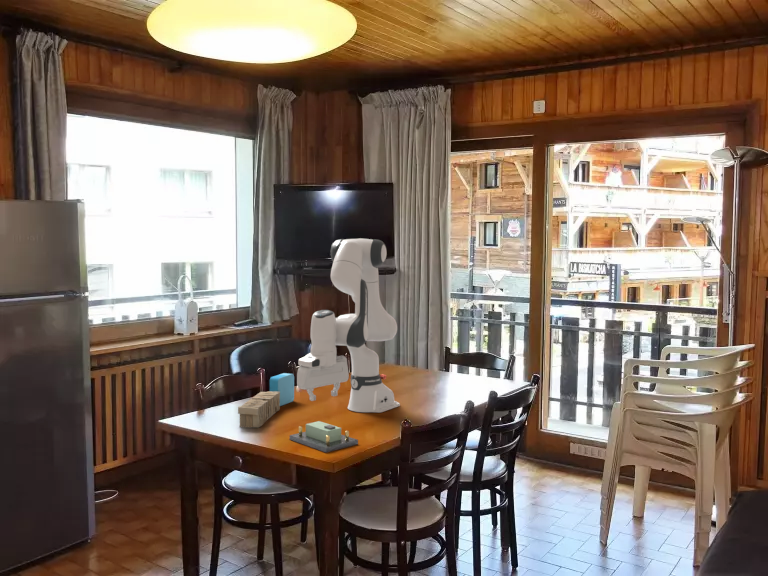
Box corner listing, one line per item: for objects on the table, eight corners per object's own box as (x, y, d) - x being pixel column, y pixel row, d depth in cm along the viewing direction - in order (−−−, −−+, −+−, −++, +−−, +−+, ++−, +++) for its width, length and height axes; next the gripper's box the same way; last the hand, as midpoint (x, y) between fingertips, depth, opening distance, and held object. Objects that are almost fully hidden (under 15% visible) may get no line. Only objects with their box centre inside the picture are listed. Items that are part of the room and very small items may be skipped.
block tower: (261, 411, 291) (237, 428, 262) (261, 390, 291) (237, 405, 262) (280, 412, 290) (257, 429, 261) (280, 391, 290) (257, 406, 261)
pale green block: (319, 432, 252) (319, 419, 252) (341, 439, 243) (341, 426, 243) (305, 435, 248) (305, 422, 248) (327, 442, 239) (327, 429, 239)
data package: (285, 399, 307) (285, 372, 306) (294, 401, 305) (294, 373, 304) (269, 405, 296) (269, 377, 295) (278, 407, 294) (278, 378, 293)
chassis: (321, 432, 258) (321, 419, 257) (357, 444, 243) (358, 431, 243) (289, 439, 248) (289, 426, 248) (325, 452, 234) (326, 439, 233)
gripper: (340, 353, 253) (340, 391, 254) (294, 360, 239) (294, 401, 240) (352, 355, 248) (352, 394, 250) (305, 363, 234) (305, 404, 235)
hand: (323, 398), depth 245 cm, fingers open, 8 cm apart
